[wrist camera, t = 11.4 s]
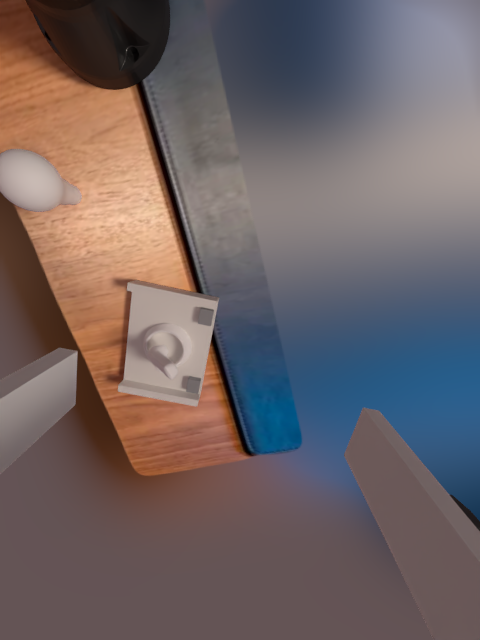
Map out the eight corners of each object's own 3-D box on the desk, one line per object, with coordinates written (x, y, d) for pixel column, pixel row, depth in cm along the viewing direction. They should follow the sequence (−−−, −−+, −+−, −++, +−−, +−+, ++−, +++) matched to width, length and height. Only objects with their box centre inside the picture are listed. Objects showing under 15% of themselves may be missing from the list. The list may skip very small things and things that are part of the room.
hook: (225, 364, 35) (186, 401, 33) (189, 346, 45) (157, 374, 42) (197, 323, 32) (152, 360, 29) (165, 313, 42) (129, 341, 39)
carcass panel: (136, 279, 39) (127, 282, 36) (219, 297, 39) (217, 301, 36) (126, 381, 44) (117, 391, 41) (200, 396, 44) (197, 406, 41)
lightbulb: (99, 221, 36) (40, 210, 26) (57, 217, 36) (-20, 204, 26) (96, 174, 35) (32, 141, 24) (52, 170, 35) (-32, 135, 24)
